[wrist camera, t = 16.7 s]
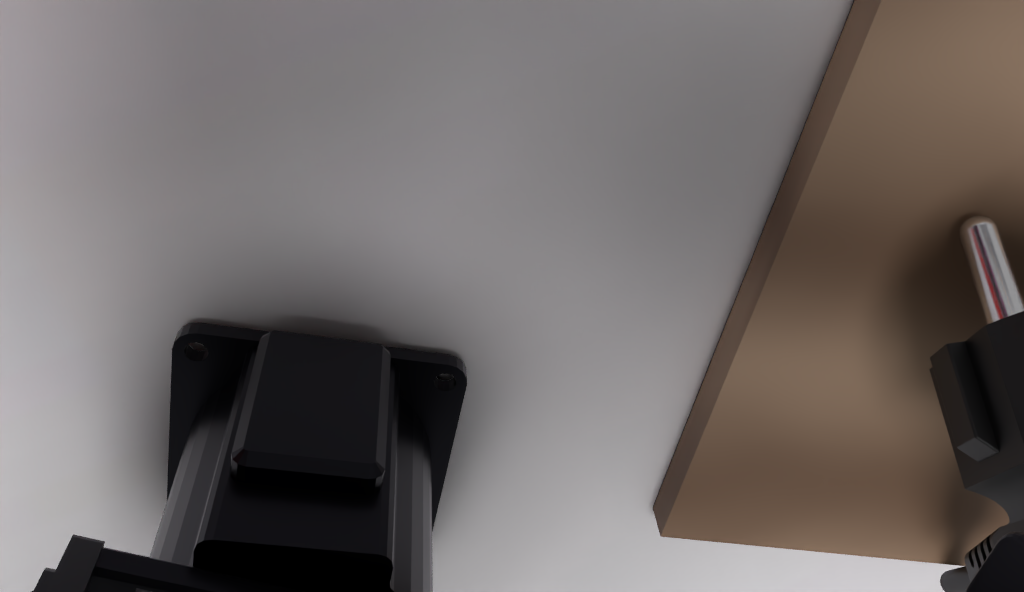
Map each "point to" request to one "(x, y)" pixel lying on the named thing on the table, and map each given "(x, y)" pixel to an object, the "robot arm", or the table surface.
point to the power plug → (986, 391)
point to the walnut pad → (864, 300)
